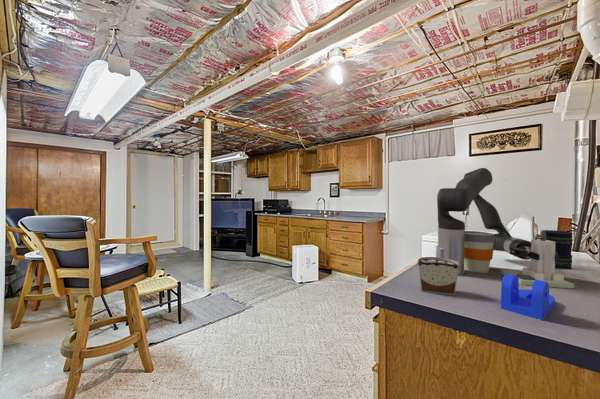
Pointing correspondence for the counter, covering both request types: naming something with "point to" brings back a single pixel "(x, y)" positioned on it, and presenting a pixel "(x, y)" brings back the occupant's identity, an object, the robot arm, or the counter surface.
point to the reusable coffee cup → (478, 251)
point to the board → (538, 278)
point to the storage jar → (561, 247)
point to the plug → (543, 256)
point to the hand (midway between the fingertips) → (547, 257)
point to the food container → (438, 274)
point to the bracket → (526, 298)
